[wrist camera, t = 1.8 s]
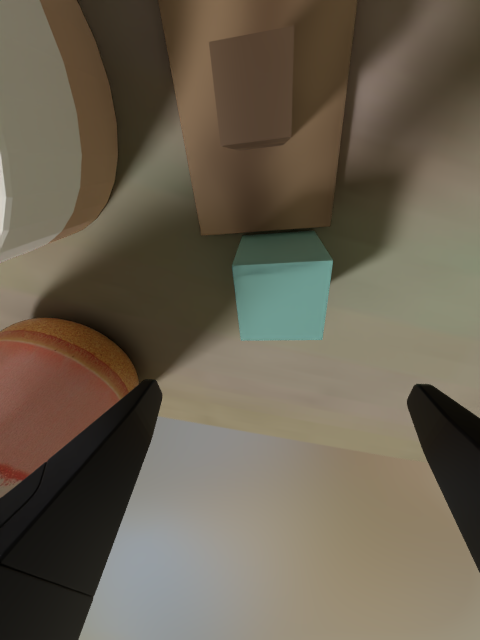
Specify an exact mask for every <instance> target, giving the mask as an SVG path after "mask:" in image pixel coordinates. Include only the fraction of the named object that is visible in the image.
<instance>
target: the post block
mask: <svg viewBox="0 0 480 640" xmlns="http://www.w3.org/2000/svg"><path fill="white" fill-rule="evenodd" d="M158 3H159V8H160V14H161V19H162V25H163V30H164V35H165V41H166V46H167V52H168V57H169V63H170V68H171V73H172V79H173V84H174V90H175V95H176V101H177V106H178V111H179V117H180V122H181V128H182V133H183V139H184V144H185V149H186V155H187V160H188V166H189V171H190V177H191V182H192V187H193V193H194V198H195V204H196V209H197V215H198V220H199V225H200V231H201V236H203V235H217V234H231V233H245V232H258V231H272V230H286V229H300V228H313V227H327V226H330V225H331V217H332V209H333V200H334V192H335V184H336V175H337V167H338V159H339V150H340V142H341V134H342V125H343V117H344V109H345V100H346V92H347V84H348V75H349V67H350V59H351V50H352V42H353V34H354V25H355V17H356V9H357V0H158Z"/></svg>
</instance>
